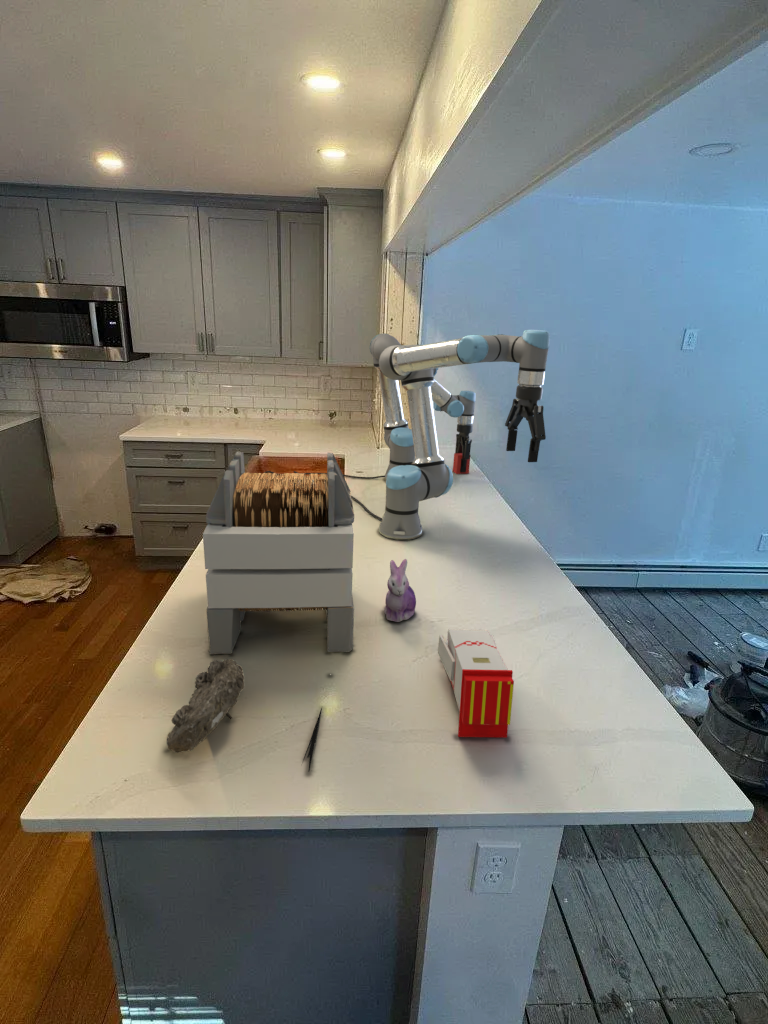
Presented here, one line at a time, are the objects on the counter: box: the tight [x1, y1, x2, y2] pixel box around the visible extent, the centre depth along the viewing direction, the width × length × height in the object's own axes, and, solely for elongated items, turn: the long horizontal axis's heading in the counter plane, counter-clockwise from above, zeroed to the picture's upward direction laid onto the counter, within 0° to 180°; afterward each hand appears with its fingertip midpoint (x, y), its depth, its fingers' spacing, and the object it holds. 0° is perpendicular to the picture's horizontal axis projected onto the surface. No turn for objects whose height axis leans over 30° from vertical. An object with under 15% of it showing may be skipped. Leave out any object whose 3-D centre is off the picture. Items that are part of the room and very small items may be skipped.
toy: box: [437, 628, 515, 738], centre depth 117 cm, size 12×13×30 cm
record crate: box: [202, 451, 355, 655], centre depth 137 cm, size 34×33×41 cm
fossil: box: [166, 658, 245, 754], centre depth 106 cm, size 22×10×15 cm
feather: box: [301, 673, 332, 771], centre depth 108 cm, size 2×28×2 cm
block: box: [452, 452, 471, 475], centre depth 278 cm, size 5×7×9 cm
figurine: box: [384, 558, 417, 623], centre depth 145 cm, size 9×10×15 cm
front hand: (521, 456), depth 173 cm, fingers open, 13 cm apart
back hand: (460, 470), depth 279 cm, fingers closed on block, 5 cm apart
